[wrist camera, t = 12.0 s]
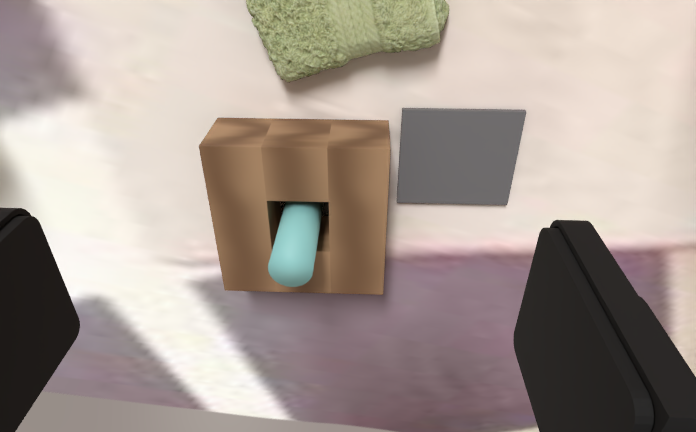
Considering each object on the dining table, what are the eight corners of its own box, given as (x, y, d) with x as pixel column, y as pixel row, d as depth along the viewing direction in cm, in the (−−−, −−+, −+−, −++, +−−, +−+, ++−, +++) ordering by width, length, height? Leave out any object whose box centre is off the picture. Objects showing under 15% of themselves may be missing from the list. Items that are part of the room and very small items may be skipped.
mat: (524, 109, 37) (526, 111, 37) (506, 202, 41) (507, 204, 41) (402, 108, 37) (402, 110, 37) (396, 199, 42) (396, 202, 41)
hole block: (388, 120, 38) (390, 149, 34) (382, 256, 45) (382, 294, 41) (217, 117, 38) (198, 146, 34) (238, 253, 45) (224, 290, 41)
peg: (324, 177, 41) (312, 252, 32) (325, 208, 42) (313, 287, 34) (287, 176, 41) (265, 251, 33) (290, 207, 43) (269, 286, 34)
